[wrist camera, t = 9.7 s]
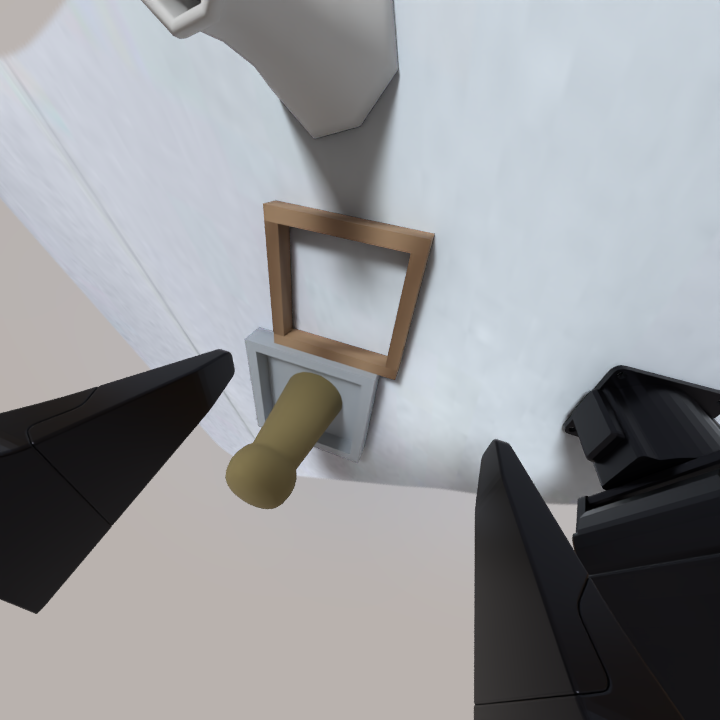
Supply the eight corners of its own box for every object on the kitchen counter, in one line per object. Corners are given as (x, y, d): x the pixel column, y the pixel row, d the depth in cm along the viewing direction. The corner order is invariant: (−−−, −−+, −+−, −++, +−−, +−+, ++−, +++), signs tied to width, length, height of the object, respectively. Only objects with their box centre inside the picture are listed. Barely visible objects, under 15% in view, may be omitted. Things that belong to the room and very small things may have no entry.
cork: (323, 425, 31) (267, 527, 23) (278, 392, 31) (203, 484, 22) (354, 400, 28) (299, 510, 19) (303, 361, 27) (223, 458, 18)
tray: (381, 364, 25) (374, 379, 23) (364, 446, 32) (357, 463, 31) (259, 327, 27) (244, 339, 25) (269, 412, 34) (258, 426, 33)
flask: (353, -140, 11) (87, -753, 4) (423, 79, 14) (357, -4, 6) (239, 15, 15) (-13, -125, 7) (312, 164, 18) (187, 176, 10)
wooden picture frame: (434, 233, 18) (431, 239, 17) (398, 369, 25) (394, 380, 23) (275, 200, 20) (263, 203, 19) (283, 334, 27) (274, 342, 25)
